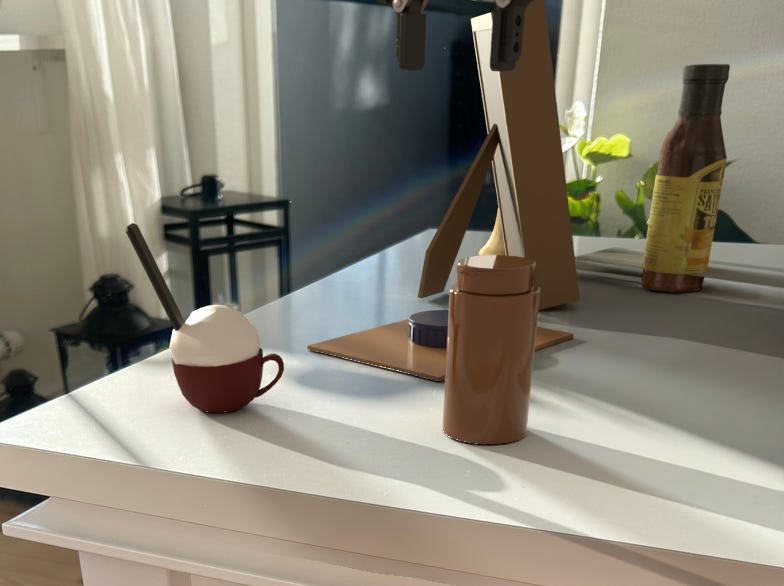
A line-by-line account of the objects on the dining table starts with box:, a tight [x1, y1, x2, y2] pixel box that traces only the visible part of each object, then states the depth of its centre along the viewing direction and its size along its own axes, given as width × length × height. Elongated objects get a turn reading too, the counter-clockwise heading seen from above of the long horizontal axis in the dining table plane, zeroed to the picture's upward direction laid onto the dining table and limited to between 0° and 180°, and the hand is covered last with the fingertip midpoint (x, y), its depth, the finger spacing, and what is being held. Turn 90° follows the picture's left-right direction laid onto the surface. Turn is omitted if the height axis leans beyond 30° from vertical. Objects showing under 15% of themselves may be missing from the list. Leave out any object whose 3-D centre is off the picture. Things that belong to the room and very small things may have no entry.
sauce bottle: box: [641, 63, 731, 293], centre depth 99 cm, size 6×6×20 cm
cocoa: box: [125, 222, 285, 413], centre depth 69 cm, size 10×6×12 cm, turn 60°
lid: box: [408, 309, 449, 348], centre depth 85 cm, size 6×6×2 cm
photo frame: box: [417, 0, 581, 311], centre depth 99 cm, size 15×22×25 cm
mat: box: [306, 308, 574, 382], centre depth 86 cm, size 18×14×1 cm
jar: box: [442, 255, 540, 445], centre depth 64 cm, size 5×5×10 cm
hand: (455, 70), depth 76 cm, fingers open, 8 cm apart
